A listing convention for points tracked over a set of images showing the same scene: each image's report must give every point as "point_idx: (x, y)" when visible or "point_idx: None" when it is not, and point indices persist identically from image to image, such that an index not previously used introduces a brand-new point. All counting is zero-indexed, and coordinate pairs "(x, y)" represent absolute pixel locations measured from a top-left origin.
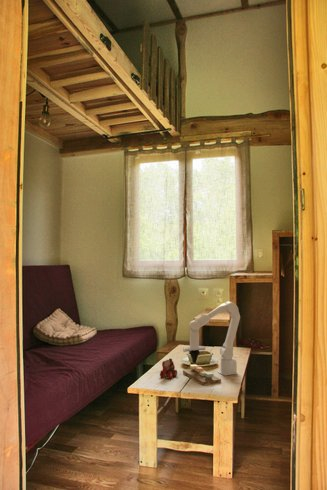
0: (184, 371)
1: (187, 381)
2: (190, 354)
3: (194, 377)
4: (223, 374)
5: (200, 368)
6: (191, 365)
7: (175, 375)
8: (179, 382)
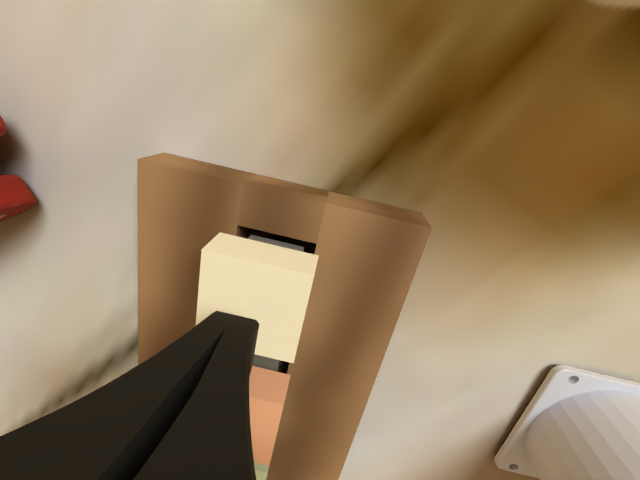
0: (141, 205)
1: (87, 379)
2: (12, 447)
3: None
4: (499, 456)
5: None
6: (208, 281)
7: (8, 216)
8: (9, 359)
